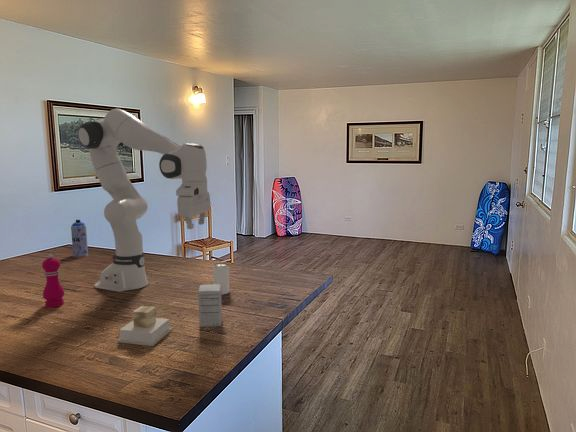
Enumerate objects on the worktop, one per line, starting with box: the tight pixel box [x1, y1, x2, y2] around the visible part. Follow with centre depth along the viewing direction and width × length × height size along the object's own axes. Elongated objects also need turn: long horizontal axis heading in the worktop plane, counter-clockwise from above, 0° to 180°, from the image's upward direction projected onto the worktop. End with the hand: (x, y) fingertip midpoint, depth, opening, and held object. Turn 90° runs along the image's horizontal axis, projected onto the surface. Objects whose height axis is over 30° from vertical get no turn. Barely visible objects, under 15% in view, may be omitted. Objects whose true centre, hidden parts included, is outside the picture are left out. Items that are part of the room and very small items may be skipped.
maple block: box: [132, 305, 157, 328], centre depth 139 cm, size 5×5×5 cm
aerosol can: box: [70, 219, 89, 258], centre depth 242 cm, size 8×8×20 cm
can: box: [212, 262, 230, 296], centre depth 181 cm, size 6×6×12 cm
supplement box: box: [197, 283, 223, 328], centre depth 150 cm, size 7×7×13 cm
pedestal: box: [117, 317, 173, 347], centre depth 140 cm, size 12×12×4 cm
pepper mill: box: [41, 253, 65, 309], centre depth 166 cm, size 7×7×20 cm
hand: (196, 226), depth 160 cm, fingers open, 8 cm apart
